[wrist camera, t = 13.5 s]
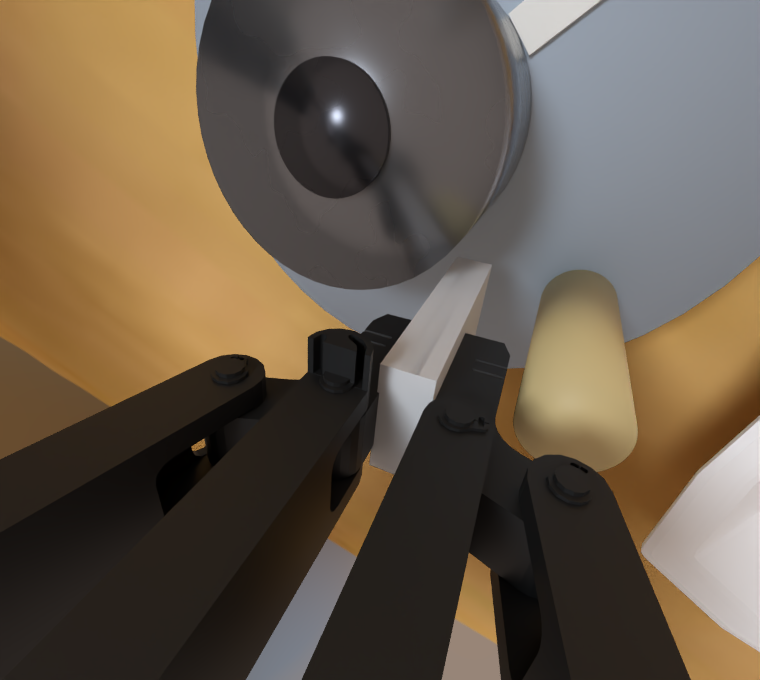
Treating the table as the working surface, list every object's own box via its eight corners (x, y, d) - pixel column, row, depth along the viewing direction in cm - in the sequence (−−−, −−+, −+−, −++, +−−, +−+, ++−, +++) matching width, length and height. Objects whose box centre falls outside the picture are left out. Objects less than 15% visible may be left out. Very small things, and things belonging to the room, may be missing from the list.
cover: (389, 280, 17) (326, 339, 13) (260, 104, 16) (144, 108, 12) (585, 142, 13) (584, 165, 9) (425, -119, 11) (332, -241, 7)
